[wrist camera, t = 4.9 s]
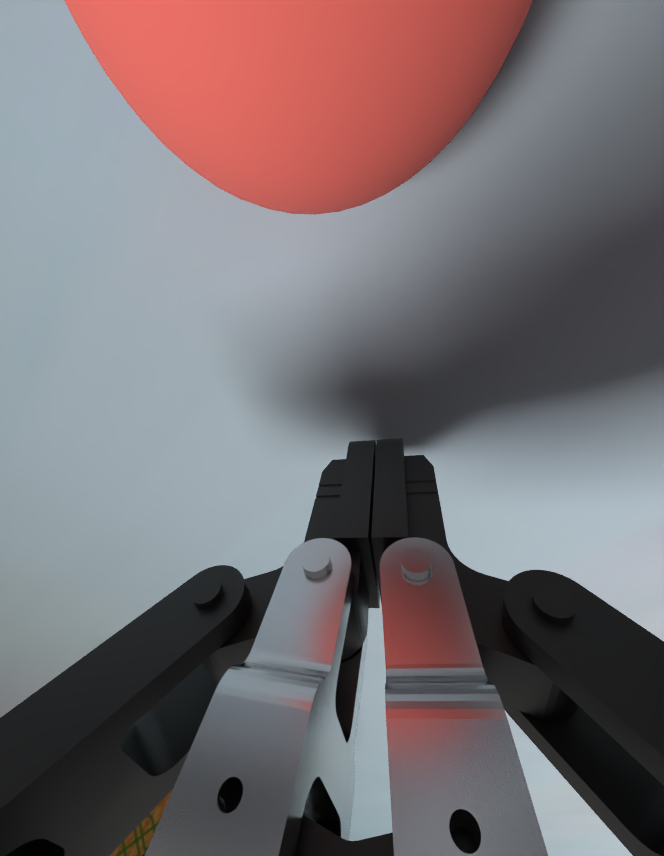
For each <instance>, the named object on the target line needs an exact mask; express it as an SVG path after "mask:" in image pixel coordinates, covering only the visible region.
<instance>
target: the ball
mask: <svg viewBox="0 0 664 856" xmlns="http://www.w3.org/2000/svg"><path fill="white" fill-rule="evenodd" d="M532 1H533V0H65V2H66V4H67V6H68V8H69V10H70V12H71V14H72V16H73V18H74V20H75V22H76V24H77V25H78V27H79V29H80V31H81V33H82V35H83V37H84V38H85V40H86V42H87V43H88V45H89V47H90V48H91V50H92V51H93V53H94V55H95V56H96V58H97V60H98V61H99V63H100V65H101V66H102V68H103V69H104V71H105V73H106V74H107V76H108V77H109V78H110V80H111V81H112V82H113V84H114V85H115V86H116V88H117V89H118V90H119V92H120V93H121V94H122V96H123V97H124V99H125V100H126V101H127V103H128V104H129V105H130V106H131V108H132V109H133V110H134V111H135V113H136V114H137V115H138V116H139V118H140V119H141V120H142V121H143V122H144V123H145V124H146V126H147V127H148V128H149V129H150V130H151V131H152V132H153V133H154V134H155V136H156V137H157V138H158V139H159V140H160V141H161V142H162V143H163V144H164V145H165V146H166V147H167V148H168V149H169V150H171V151H172V152H173V153H174V154H175V155H176V156H177V157H178V158H180V159H181V160H182V161H183V162H184V163H185V164H186V165H188V166H189V167H190V168H192V169H193V170H194V171H195V172H197V173H198V174H200V175H201V176H203V177H204V178H205V179H207V180H208V181H210V182H211V183H213V184H214V185H215V186H217V187H218V188H220V189H222V190H224V191H226V192H228V193H230V194H232V195H234V196H236V197H238V198H240V199H242V200H245V201H248V202H251V203H253V204H256V205H259V206H262V207H265V208H268V209H272V210H277V211H282V212H287V213H293V214H322V213H330V212H339V211H342V210H346V209H349V208H353V207H356V206H360V205H363V204H365V203H367V202H369V201H372V200H374V199H376V198H378V197H381V196H383V195H385V194H387V193H388V192H390V191H391V190H393V189H395V188H396V187H398V186H399V185H401V184H403V183H404V182H406V181H407V180H409V179H410V178H411V177H412V176H414V175H415V174H416V173H417V172H419V171H420V170H421V169H422V168H423V167H425V166H426V165H427V164H428V163H430V162H431V161H432V160H433V159H434V158H435V157H436V156H437V155H438V154H439V152H440V151H441V150H442V149H443V148H444V147H445V146H446V145H447V144H448V143H449V142H450V141H451V140H452V139H453V138H454V137H455V135H456V134H457V133H458V132H459V130H460V129H461V128H462V126H463V125H464V124H465V123H466V121H467V120H468V119H469V117H470V116H471V115H472V114H473V112H474V111H475V109H476V108H477V106H478V105H479V103H480V102H481V100H482V98H483V97H484V95H485V94H486V92H487V91H488V89H489V87H490V86H491V84H492V83H493V81H494V79H495V78H496V76H497V74H498V72H499V71H500V69H501V67H502V65H503V63H504V61H505V59H506V57H507V55H508V53H509V51H510V49H511V47H512V46H513V44H514V42H515V40H516V38H517V36H518V34H519V32H520V30H521V28H522V26H523V24H524V21H525V19H526V16H527V14H528V11H529V9H530V6H531V4H532Z"/></svg>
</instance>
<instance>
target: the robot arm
mask: <svg viewBox="0 0 664 856" xmlns="http://www.w3.org/2000/svg"><path fill="white" fill-rule="evenodd" d="M380 596H381V603H382V613H383V629H384V646H385V662H386V684H385V701H386V722H387V740H388V757H389V775H390V793H391V811H392V829H393V833H389V834H385V835H381V836H376V837H372V838H368V839H364V840H359V841H349V835H350V827H351V818H352V809H353V799H354V783H355V764H354V751H355V738H356V730H357V722H358V714H359V706H360V698H361V690H362V682H363V674H364V666H365V658H366V650H367V626H368V608H379V602H380ZM504 709H505V710H504ZM505 711H506V712H507V713H508V715H509V716H510V717H511V718H512V719H513V720H514V721H515V723H516V724H517V725H518V726H519V727H520V728H521V729H522V730H523V732H524V733H525V734H526V735H527V736H528V737H529V738H530V740H531V741H532V742H533V743H534V744H535V745H536V746H537V747H538V749H539V750H540V751H541V752H542V753H543V754H544V755H545V757H546V758H547V759H548V760H549V761H550V762H551V763H552V764H553V766H554V767H555V768H556V769H557V770H558V771H559V772H560V773H561V775H562V776H563V777H564V778H565V779H566V780H567V781H568V783H569V784H570V785H571V786H572V787H573V788H574V789H575V790H576V792H577V793H578V794H579V795H580V796H581V797H582V798H583V800H584V801H585V802H586V803H587V804H588V805H589V806H590V807H591V809H592V810H593V811H594V812H595V813H596V814H597V815H598V816H599V818H600V819H601V820H602V821H603V822H604V823H605V824H606V826H607V827H608V828H609V829H610V830H611V831H612V832H613V833H614V835H615V836H616V837H617V838H618V839H619V840H620V841H621V843H622V844H623V845H624V846H625V847H626V848H627V849H628V850H629V852H630V853H631V854H632V855H633V856H664V642H663V641H662V640H660V639H659V638H658V637H656V636H655V635H653V634H652V633H650V632H649V631H647V630H646V629H644V628H643V627H641V626H640V625H638V624H637V623H635V622H634V621H632V620H631V619H630V618H628V617H627V616H625V615H624V614H622V613H621V612H619V611H618V610H616V609H615V608H613V607H612V606H610V605H609V604H607V603H606V602H605V601H603V600H602V599H600V598H599V597H597V596H596V595H594V594H593V593H591V592H590V591H588V590H587V589H585V588H584V587H582V586H581V585H580V584H578V583H576V582H575V581H573V580H571V579H569V578H567V577H565V576H563V575H560V574H557V573H554V572H550V571H545V570H529V571H524V572H521V573H519V574H517V575H515V576H514V577H513V578H512V579H511V580H510V581H506V580H502V579H499V578H495V577H492V576H488V575H485V574H482V573H479V572H476V571H474V570H472V569H470V568H469V567H467V566H465V565H464V564H463V563H461V562H460V561H459V560H458V559H457V558H456V557H455V556H454V555H453V553H452V552H451V551H450V549H449V547H448V544H447V540H446V535H445V529H444V524H443V518H442V512H441V507H440V501H439V495H438V490H437V484H436V478H435V473H434V467H433V465H432V464H431V463H430V462H429V461H428V460H427V459H426V457H425V456H424V455H416V456H404V449H403V438H400V439H384V440H377V444H376V441H375V440H370V441H354V442H349V447H348V452H347V458H346V459H342V460H332V461H331V462H330V464H329V465H328V466H327V467H326V468H325V469H324V470H323V472H322V475H321V479H320V483H319V487H318V491H317V495H316V499H315V502H314V506H313V510H312V514H311V518H310V522H309V525H308V529H307V533H306V537H305V541H304V543H302V544H301V545H299V546H298V547H296V548H295V549H294V550H293V551H292V552H291V553H290V555H289V556H288V557H287V559H286V561H285V564H284V566H283V567H281V568H279V569H277V570H274V571H271V572H268V573H264V574H261V575H258V576H254V577H251V578H247V579H244V578H243V576H242V574H241V573H240V572H239V571H238V570H237V569H236V568H234V567H231V566H226V565H220V566H214V567H210V568H208V569H205V570H203V571H201V572H199V573H198V574H196V575H195V576H193V577H192V578H191V579H189V580H188V581H187V582H185V583H184V584H183V585H181V586H180V587H178V588H177V589H176V590H174V591H173V592H172V593H170V594H169V595H168V596H166V597H165V598H163V599H162V600H161V601H159V602H158V603H157V604H155V605H154V606H152V607H151V608H150V609H148V610H147V611H146V612H144V613H143V614H142V615H140V616H139V617H137V618H136V619H135V620H133V621H132V622H131V623H129V624H128V625H127V626H125V627H124V628H122V629H121V630H120V631H118V632H117V633H116V634H114V635H113V636H112V637H110V638H109V639H107V640H106V641H105V642H103V643H102V644H101V645H99V646H98V647H97V648H95V649H94V650H92V651H91V652H90V653H88V654H87V655H86V656H84V657H83V658H82V659H80V660H79V661H77V662H76V663H75V664H73V665H72V666H71V667H69V668H68V669H67V670H65V671H64V672H62V673H61V674H60V675H58V676H57V677H56V678H54V679H53V680H52V681H50V682H49V683H47V684H46V685H45V686H43V687H42V688H41V689H39V690H38V691H37V692H35V693H34V694H32V695H31V696H30V697H28V698H27V699H26V700H24V701H23V702H22V703H20V704H19V705H17V706H16V707H15V708H13V709H12V710H11V711H9V712H8V713H7V714H5V715H4V716H2V717H1V718H0V856H110V855H111V854H112V852H113V851H114V850H115V849H116V848H117V847H118V846H119V845H120V844H121V843H122V842H123V841H124V840H125V839H126V838H127V837H128V836H129V835H130V834H131V832H132V831H133V830H134V829H135V828H136V827H137V826H138V825H139V824H140V823H141V822H142V821H143V820H144V819H145V818H146V817H147V816H148V815H149V814H150V813H151V811H152V810H153V809H154V808H155V807H156V806H157V805H158V804H159V803H160V802H161V801H162V800H163V799H164V798H165V797H166V796H167V795H168V794H169V793H170V791H171V790H172V789H173V790H172V793H171V795H170V797H169V800H168V802H167V804H166V807H165V809H164V811H163V814H162V816H161V819H160V821H159V823H158V826H157V828H156V830H155V833H154V835H153V837H152V840H151V842H150V844H149V847H148V849H147V851H146V852H145V853H144V854H143V855H142V856H548V854H547V850H546V847H545V844H544V840H543V837H542V833H541V830H540V827H539V823H538V820H537V817H536V813H535V810H534V807H533V803H532V800H531V797H530V793H529V790H528V787H527V783H526V780H525V777H524V773H523V770H522V767H521V763H520V760H519V757H518V753H517V750H516V747H515V743H514V740H513V737H512V733H511V730H510V726H509V723H508V720H507V717H506V713H505Z"/></svg>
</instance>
